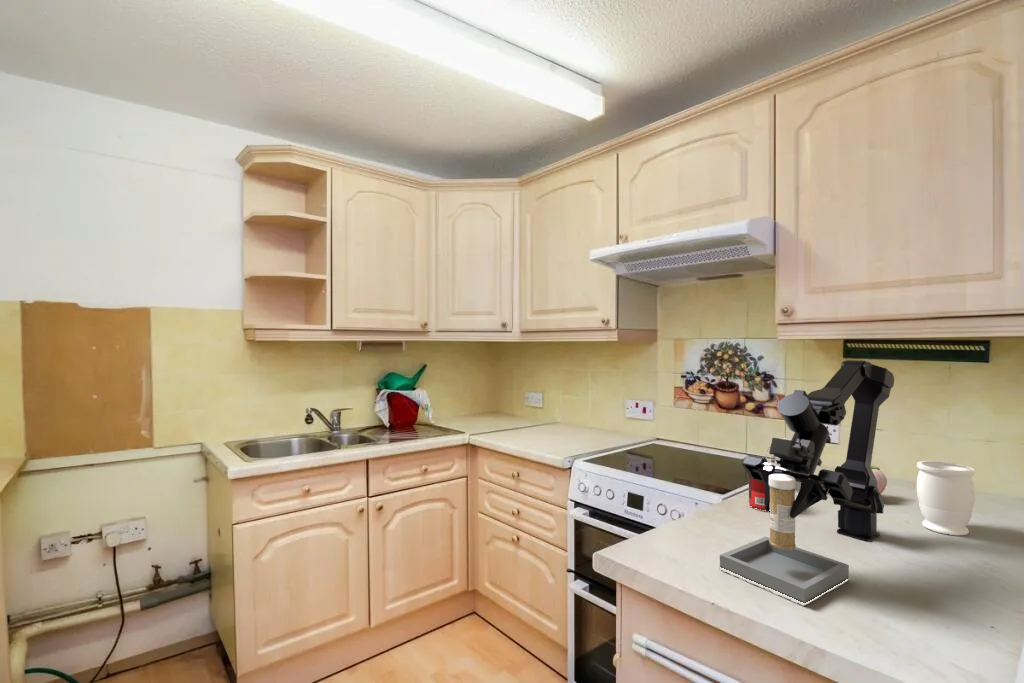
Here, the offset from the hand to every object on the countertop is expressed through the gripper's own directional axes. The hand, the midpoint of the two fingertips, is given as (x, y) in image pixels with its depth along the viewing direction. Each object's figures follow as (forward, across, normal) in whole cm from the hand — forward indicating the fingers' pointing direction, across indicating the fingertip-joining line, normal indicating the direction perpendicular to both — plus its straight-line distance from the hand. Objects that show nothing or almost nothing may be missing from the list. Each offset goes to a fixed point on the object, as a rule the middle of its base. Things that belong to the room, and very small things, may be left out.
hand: (778, 513), depth 95 cm
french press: (-30, -27, +49) cm, 64 cm away
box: (+8, 0, +9) cm, 12 cm away
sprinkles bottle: (+4, 0, +6) cm, 7 cm away
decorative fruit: (-37, -9, +56) cm, 67 cm away
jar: (-30, +11, +48) cm, 57 cm away
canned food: (-16, -22, +34) cm, 44 cm away
